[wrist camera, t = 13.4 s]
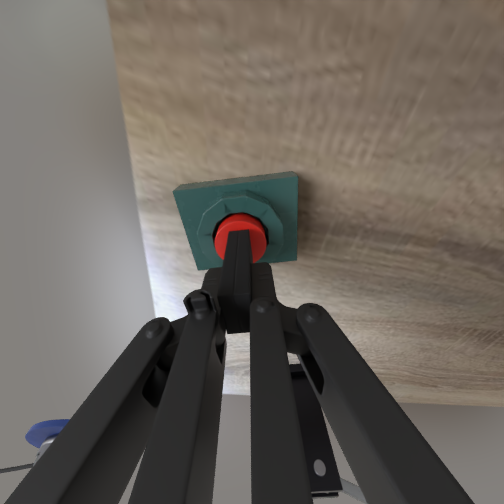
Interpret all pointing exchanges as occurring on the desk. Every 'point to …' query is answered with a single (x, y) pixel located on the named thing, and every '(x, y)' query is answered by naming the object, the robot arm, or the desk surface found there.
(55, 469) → the robot arm
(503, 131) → the desk surface
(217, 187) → the button box
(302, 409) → the bracket
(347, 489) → the lever
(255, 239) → the button
